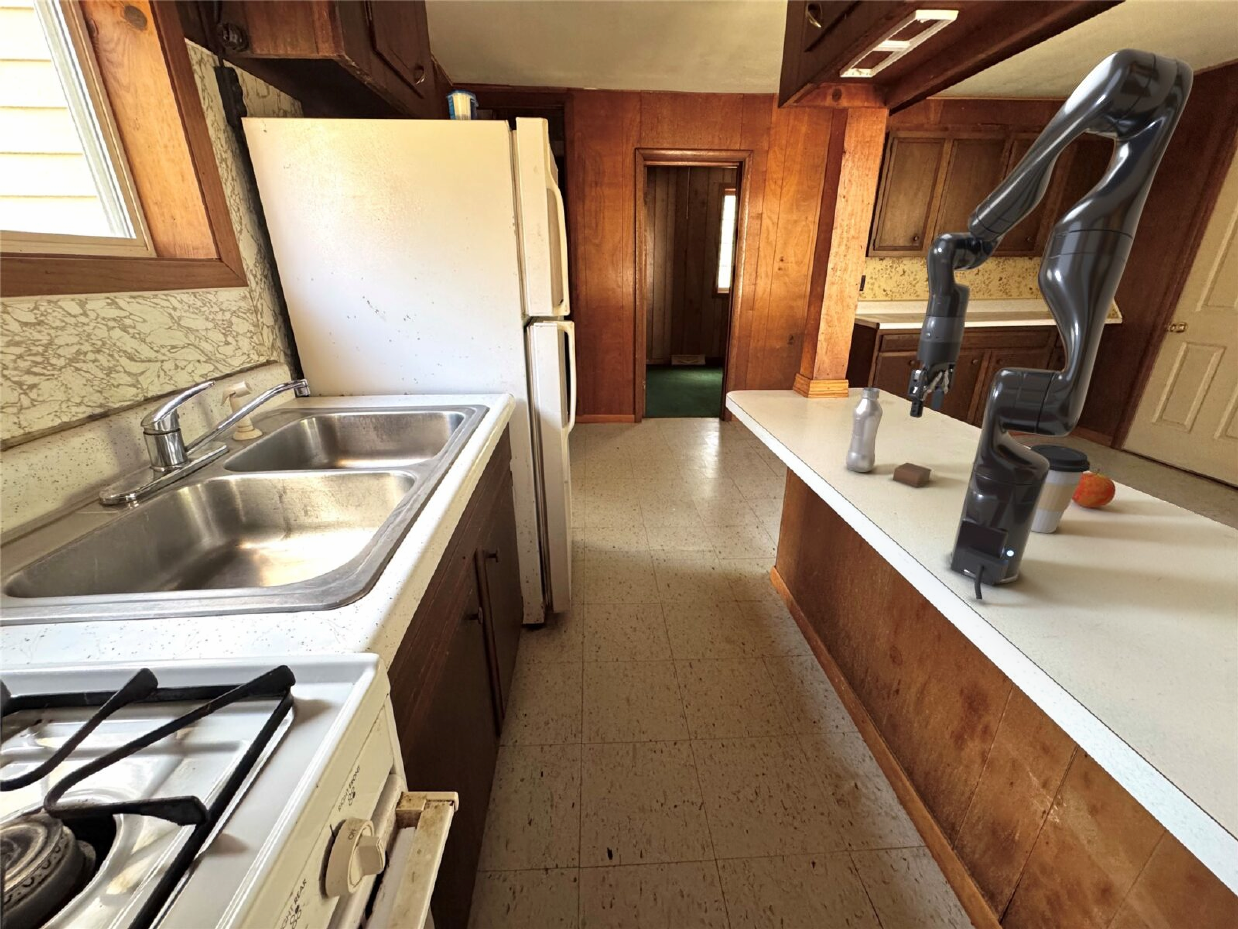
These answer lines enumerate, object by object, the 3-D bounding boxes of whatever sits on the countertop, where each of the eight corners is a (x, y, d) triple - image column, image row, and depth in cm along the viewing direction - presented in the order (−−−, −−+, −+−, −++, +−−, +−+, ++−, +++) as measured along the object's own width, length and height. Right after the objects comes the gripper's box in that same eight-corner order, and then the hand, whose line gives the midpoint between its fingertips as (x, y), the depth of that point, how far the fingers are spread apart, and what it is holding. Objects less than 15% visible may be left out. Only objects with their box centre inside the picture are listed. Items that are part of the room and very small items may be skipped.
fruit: (1095, 516, 99) (1108, 478, 96) (1055, 502, 105) (1067, 466, 102) (1116, 509, 102) (1130, 472, 99) (1076, 495, 108) (1088, 460, 105)
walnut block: (916, 487, 114) (919, 475, 113) (892, 480, 118) (894, 468, 117) (928, 481, 117) (931, 469, 116) (904, 474, 121) (907, 462, 120)
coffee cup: (1050, 515, 100) (1073, 444, 95) (1079, 540, 92) (1106, 463, 86) (996, 512, 102) (1015, 442, 96) (1020, 536, 94) (1042, 460, 88)
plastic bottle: (844, 473, 123) (856, 392, 115) (844, 463, 128) (855, 385, 121) (874, 476, 120) (887, 393, 113) (872, 466, 126) (885, 386, 119)
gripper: (942, 343, 99) (926, 423, 105) (976, 335, 106) (959, 410, 112) (904, 339, 105) (891, 415, 111) (939, 332, 112) (924, 404, 118)
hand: (925, 413), depth 112 cm, fingers open, 8 cm apart
